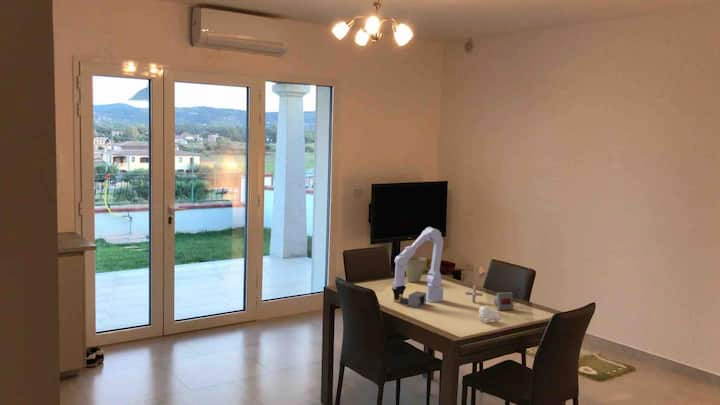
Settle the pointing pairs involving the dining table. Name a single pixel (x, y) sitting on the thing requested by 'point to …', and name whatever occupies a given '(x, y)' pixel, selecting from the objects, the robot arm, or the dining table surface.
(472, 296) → the toy jack
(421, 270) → the plant pot
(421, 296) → the housing
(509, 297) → the voltmeter
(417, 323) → the dining table surface
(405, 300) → the plug
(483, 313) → the white lumpy piece
